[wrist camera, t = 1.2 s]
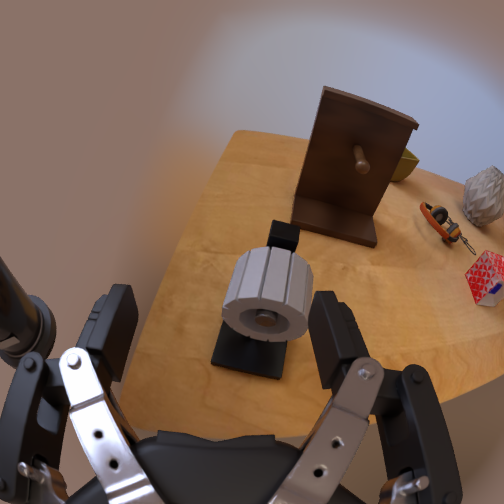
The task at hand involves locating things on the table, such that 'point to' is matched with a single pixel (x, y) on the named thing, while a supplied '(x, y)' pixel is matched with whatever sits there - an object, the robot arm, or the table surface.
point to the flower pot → (405, 166)
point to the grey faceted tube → (269, 294)
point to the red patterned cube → (487, 279)
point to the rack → (349, 166)
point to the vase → (484, 197)
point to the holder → (252, 350)
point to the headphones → (438, 218)
